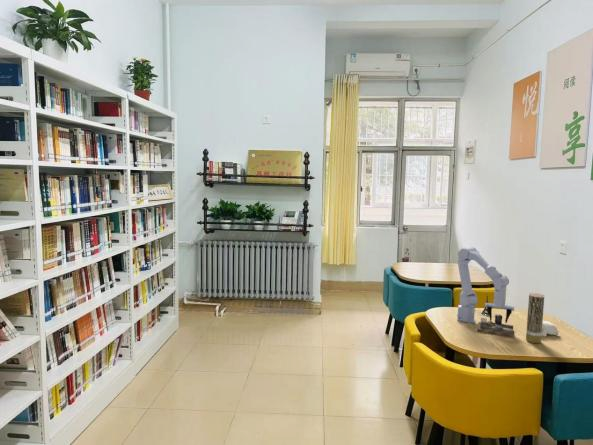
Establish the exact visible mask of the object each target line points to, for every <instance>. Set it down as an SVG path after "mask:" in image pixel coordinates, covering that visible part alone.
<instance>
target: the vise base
mask: <svg viewBox="0 0 593 445" xmlns="http://www.w3.org/2000/svg"><path fill="white" fill-rule="evenodd" d="M487 320H488V319H487V317H481V318H480V321H478V322H477V327H476V330H477V331H476V332H478V333H484V334H490V335H495V336H501V337H502V336H503V337H507V338H508V337H509V338H512V339H513V338H514V337H515V331H514V325H512V324H507V323H502V324H501V329H500V328H495V321H492V320H491V321H490V320H488V321H487Z"/></svg>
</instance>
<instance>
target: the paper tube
mask: <svg viewBox="0 0 593 445" xmlns="http://www.w3.org/2000/svg"><path fill="white" fill-rule="evenodd" d="M544 306H545V295H544V294H541V293H536V292H530V293H529V294H528V306H527V318H526V335H525V339H526V341H527V342H528V343H533V344H540V343H541V342H542V322H543V321H544V317H543V316H544V308H545V307H544Z"/></svg>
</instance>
